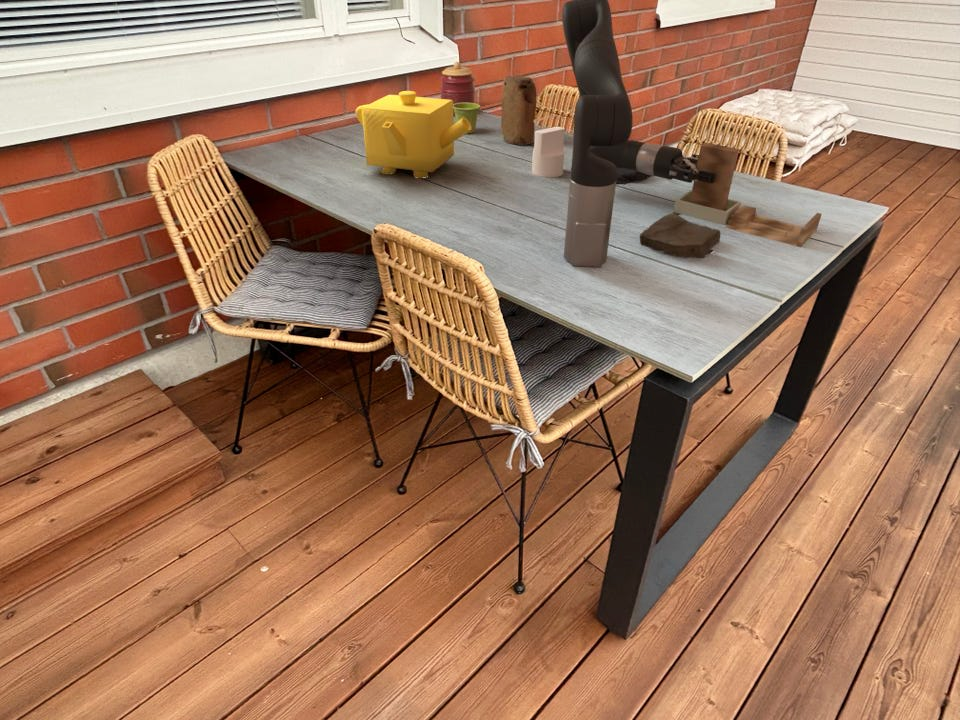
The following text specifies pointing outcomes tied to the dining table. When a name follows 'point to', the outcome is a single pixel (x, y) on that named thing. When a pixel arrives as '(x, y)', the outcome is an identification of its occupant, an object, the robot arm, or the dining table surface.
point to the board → (723, 166)
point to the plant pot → (467, 113)
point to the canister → (457, 84)
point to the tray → (705, 209)
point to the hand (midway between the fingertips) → (722, 174)
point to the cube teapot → (410, 132)
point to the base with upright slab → (548, 152)
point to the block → (518, 110)
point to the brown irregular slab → (680, 237)
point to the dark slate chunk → (629, 176)
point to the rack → (771, 227)
